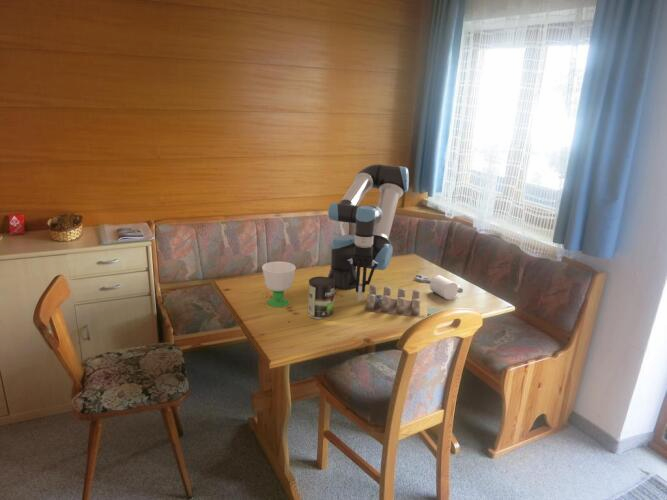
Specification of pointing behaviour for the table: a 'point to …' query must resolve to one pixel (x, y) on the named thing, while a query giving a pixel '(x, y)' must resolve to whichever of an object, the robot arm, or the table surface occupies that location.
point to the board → (394, 303)
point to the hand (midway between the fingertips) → (359, 299)
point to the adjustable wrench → (428, 280)
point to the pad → (432, 310)
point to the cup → (278, 281)
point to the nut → (378, 301)
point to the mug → (444, 287)
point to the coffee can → (321, 297)
